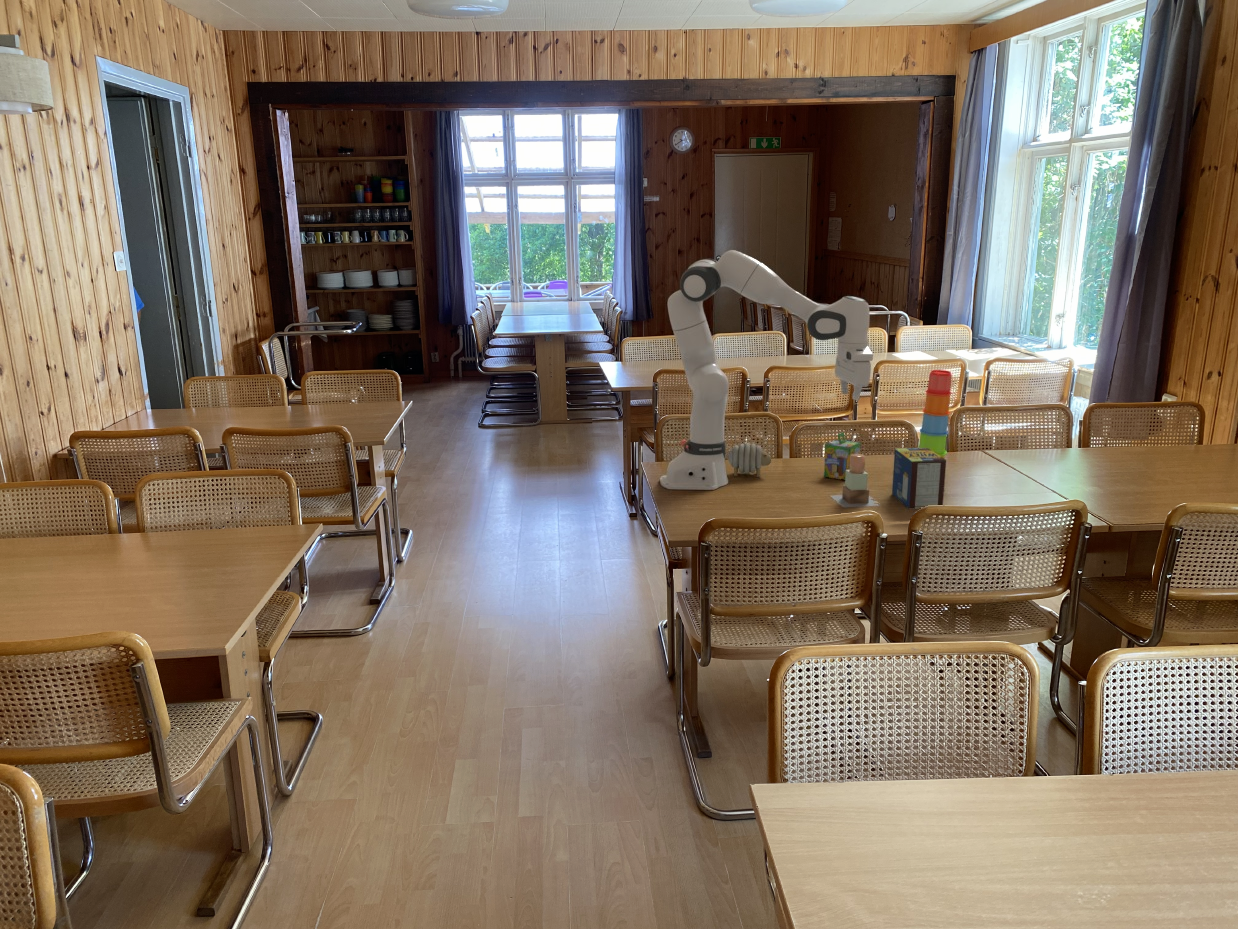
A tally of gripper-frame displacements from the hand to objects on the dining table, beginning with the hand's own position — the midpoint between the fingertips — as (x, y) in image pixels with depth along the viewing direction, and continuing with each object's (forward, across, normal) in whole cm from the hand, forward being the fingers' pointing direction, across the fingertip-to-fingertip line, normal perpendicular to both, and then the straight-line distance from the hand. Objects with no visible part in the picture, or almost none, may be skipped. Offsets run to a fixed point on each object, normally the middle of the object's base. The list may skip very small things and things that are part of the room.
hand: (850, 396), depth 274 cm
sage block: (+26, +9, 0) cm, 28 cm away
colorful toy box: (+31, -20, +6) cm, 38 cm away
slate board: (+31, +9, 0) cm, 32 cm away
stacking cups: (+31, -21, +37) cm, 53 cm away
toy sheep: (+31, -27, -25) cm, 48 cm away
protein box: (+31, +12, +18) cm, 38 cm away
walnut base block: (+30, +9, 0) cm, 32 cm away
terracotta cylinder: (+21, +9, 0) cm, 23 cm away
